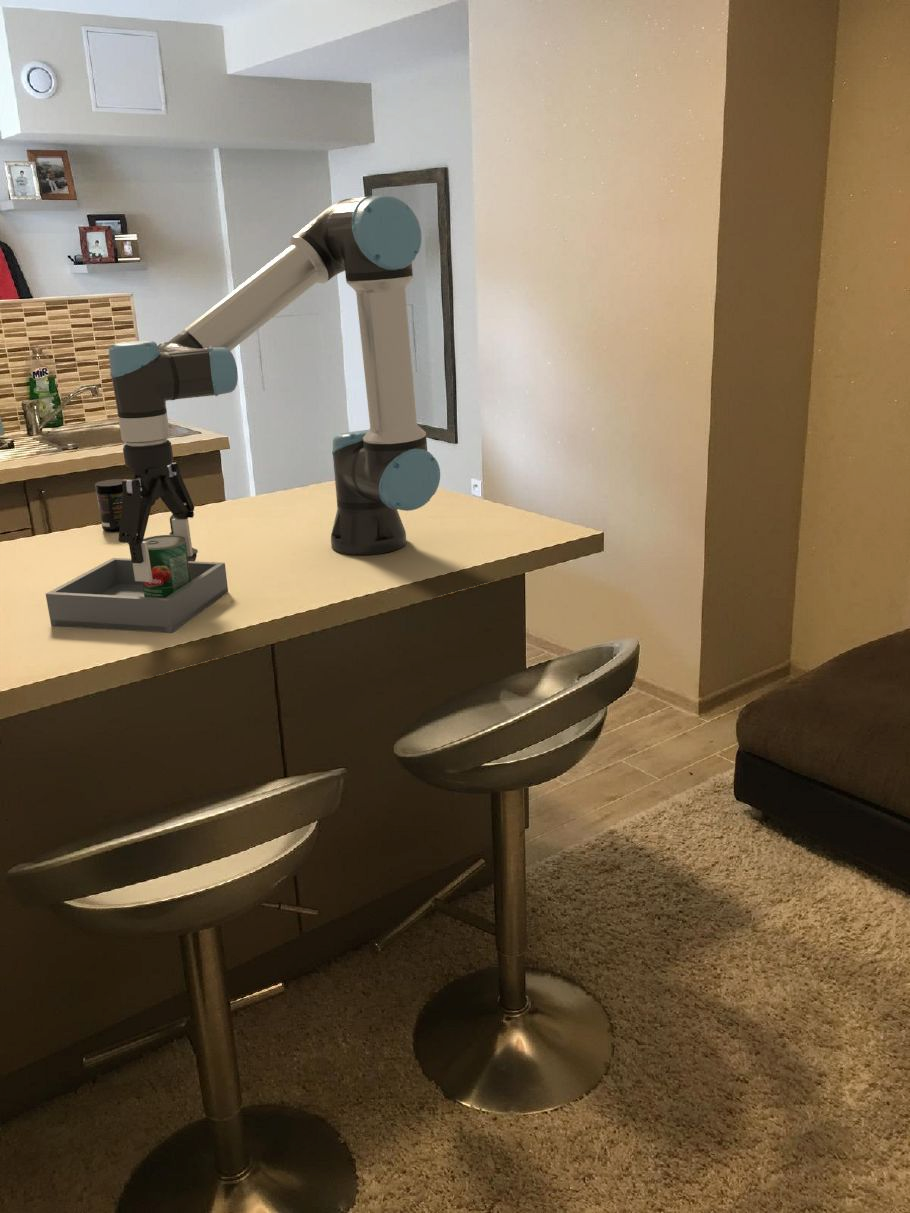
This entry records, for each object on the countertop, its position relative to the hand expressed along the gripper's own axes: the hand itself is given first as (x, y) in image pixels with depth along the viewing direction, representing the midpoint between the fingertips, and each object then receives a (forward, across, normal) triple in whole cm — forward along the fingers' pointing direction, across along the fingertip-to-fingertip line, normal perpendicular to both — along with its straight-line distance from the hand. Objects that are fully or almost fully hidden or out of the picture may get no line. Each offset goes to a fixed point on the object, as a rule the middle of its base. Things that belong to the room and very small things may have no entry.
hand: (165, 568), depth 169 cm
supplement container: (+8, -47, -39) cm, 61 cm away
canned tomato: (+7, 0, 0) cm, 7 cm away
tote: (+7, 0, -5) cm, 9 cm away
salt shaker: (+8, -21, -9) cm, 24 cm away
